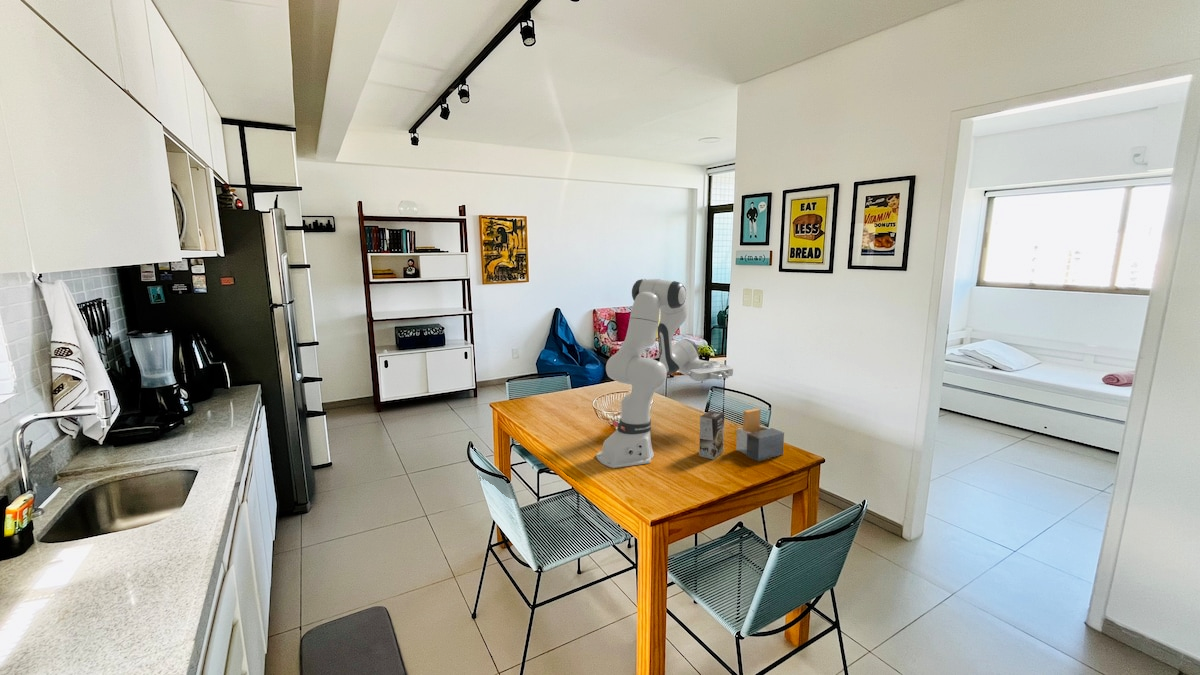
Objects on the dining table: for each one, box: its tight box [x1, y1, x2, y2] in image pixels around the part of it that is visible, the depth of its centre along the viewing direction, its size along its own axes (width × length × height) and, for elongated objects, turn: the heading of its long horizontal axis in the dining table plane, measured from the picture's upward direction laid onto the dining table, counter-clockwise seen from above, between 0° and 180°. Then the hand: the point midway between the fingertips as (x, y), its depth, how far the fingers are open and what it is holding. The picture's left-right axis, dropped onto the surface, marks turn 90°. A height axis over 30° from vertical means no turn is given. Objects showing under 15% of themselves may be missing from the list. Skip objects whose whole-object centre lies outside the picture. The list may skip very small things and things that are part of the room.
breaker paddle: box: [742, 407, 761, 433], centre depth 193 cm, size 7×2×10 cm, turn 118°
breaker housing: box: [735, 424, 785, 463], centre depth 191 cm, size 13×12×9 cm
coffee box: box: [698, 410, 725, 460], centre depth 189 cm, size 9×6×16 cm
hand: (723, 376), depth 206 cm, fingers open, 2 cm apart
